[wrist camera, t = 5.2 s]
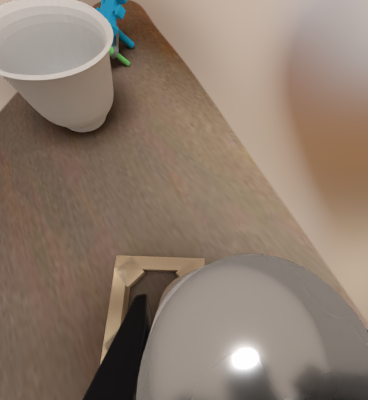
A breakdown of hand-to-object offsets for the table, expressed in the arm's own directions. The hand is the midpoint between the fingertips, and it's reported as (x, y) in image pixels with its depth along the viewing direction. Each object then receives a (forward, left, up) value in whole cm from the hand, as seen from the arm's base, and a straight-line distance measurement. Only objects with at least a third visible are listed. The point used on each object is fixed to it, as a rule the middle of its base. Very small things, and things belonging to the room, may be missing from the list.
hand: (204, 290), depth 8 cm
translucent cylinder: (-1, 0, -7) cm, 7 cm away
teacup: (+22, +14, -14) cm, 30 cm away
